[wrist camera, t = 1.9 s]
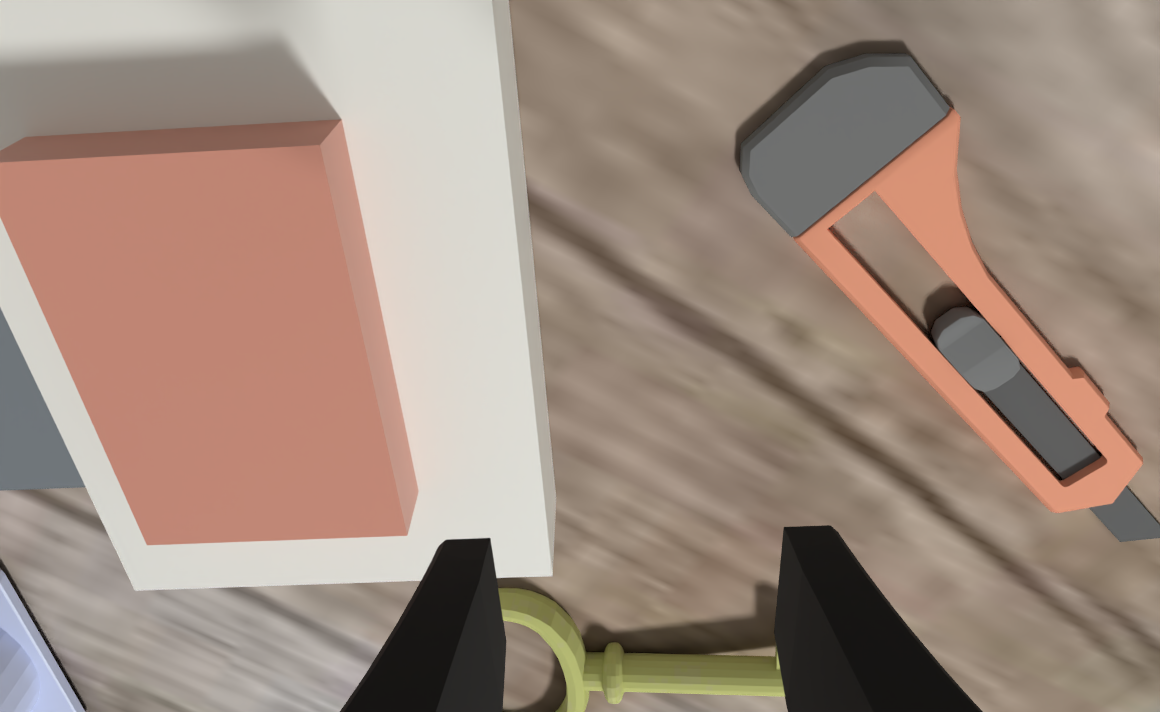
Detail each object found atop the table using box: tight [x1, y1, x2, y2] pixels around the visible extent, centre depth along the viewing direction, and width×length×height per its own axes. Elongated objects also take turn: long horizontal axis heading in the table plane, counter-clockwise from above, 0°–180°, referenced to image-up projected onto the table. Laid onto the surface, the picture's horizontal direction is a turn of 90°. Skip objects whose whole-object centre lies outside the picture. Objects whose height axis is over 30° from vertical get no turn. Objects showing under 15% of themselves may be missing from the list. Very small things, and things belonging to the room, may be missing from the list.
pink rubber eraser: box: [0, 119, 419, 545], centre depth 18 cm, size 6×9×2 cm, turn 3°
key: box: [498, 588, 785, 712], centre depth 27 cm, size 7×12×2 cm, turn 114°
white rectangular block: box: [0, 0, 556, 591], centre depth 19 cm, size 11×15×3 cm
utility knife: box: [740, 53, 1160, 542], centre depth 21 cm, size 4×1×18 cm
